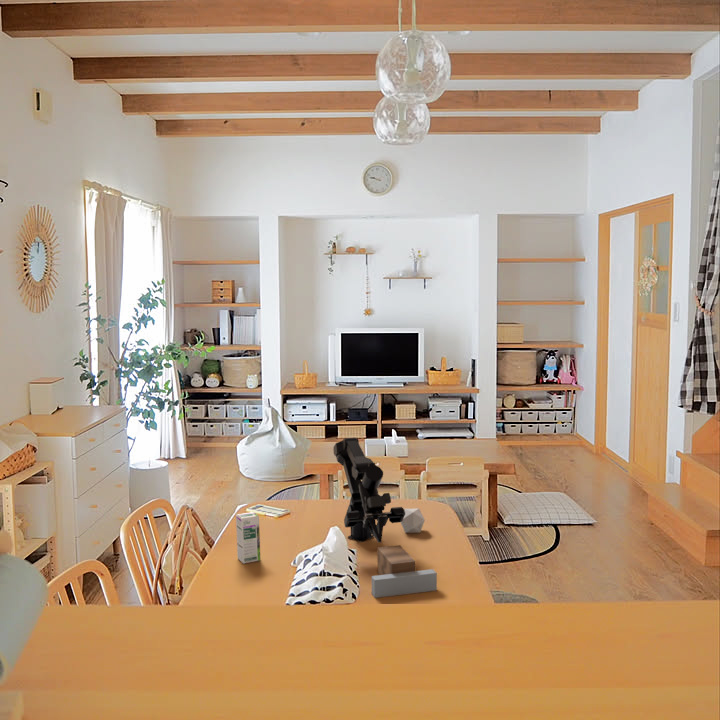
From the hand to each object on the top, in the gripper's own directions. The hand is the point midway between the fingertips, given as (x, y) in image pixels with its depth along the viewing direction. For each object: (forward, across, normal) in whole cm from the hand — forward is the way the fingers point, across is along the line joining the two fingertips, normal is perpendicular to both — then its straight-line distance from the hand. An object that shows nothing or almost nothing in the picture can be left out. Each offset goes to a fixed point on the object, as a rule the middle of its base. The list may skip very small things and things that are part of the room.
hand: (380, 541), depth 236 cm
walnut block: (+16, 0, -6) cm, 17 cm away
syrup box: (-5, -39, +14) cm, 42 cm away
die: (-13, +19, +22) cm, 32 cm away
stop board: (+21, 0, -13) cm, 25 cm away
